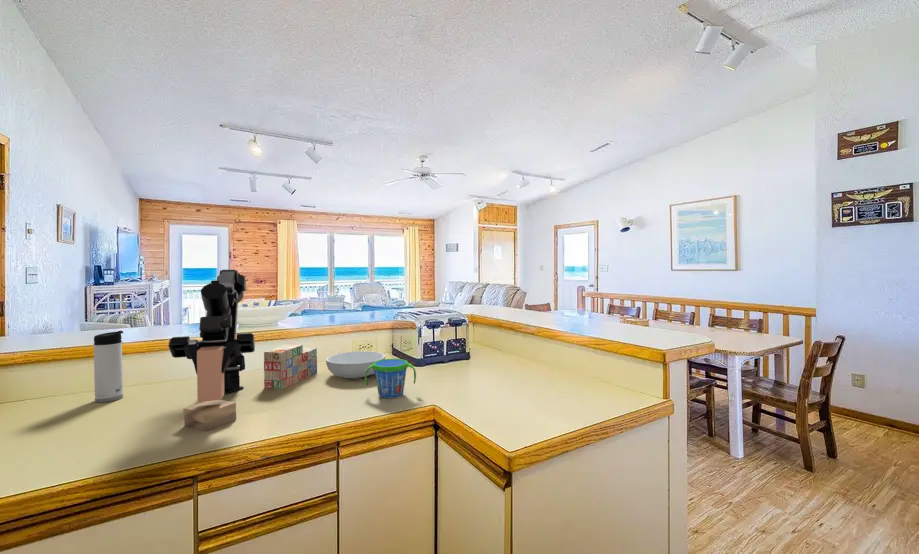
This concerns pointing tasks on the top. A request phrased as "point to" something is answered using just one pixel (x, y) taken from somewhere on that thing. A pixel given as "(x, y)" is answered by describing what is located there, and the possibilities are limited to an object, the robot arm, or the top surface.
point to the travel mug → (108, 367)
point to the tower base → (210, 423)
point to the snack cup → (390, 376)
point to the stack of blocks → (288, 365)
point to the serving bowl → (353, 363)
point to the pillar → (210, 373)
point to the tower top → (209, 410)
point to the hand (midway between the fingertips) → (210, 373)
